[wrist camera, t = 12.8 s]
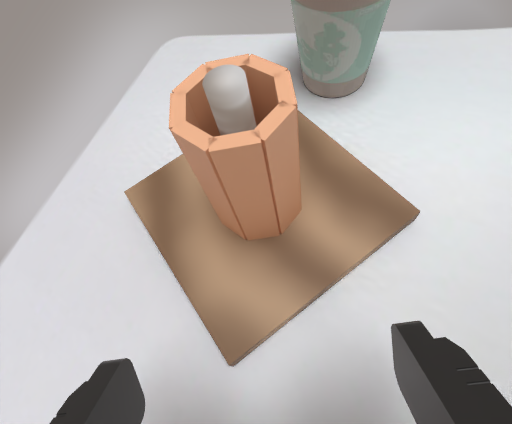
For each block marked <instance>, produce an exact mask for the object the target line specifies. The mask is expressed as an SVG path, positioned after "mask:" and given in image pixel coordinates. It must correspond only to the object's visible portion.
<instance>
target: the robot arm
mask: <svg viewBox="0 0 512 424" xmlns="http://www.w3.org/2000/svg"><path fill="white" fill-rule="evenodd" d="M391 333H392V346H393V360H394V369H395V374H396V378H397V382H398V385H399V387H400V390H401V392H402V394H403V396H404V398H405V400H406V402H407V404H408V407H409V409H410V411H411V413H412V415H413V417H414V419H415V421H416V423H417V424H512V407H511V405H510V404H509V403H508V402H507V400H506V399H505V398H504V397H503V396H502V394H501V393H500V392H499V391H498V390H497V388H496V387H495V386H494V385H493V384H491V383H490V380H489V379H488V378H487V376H486V375H485V374H484V373H483V372H482V370H481V369H480V370H479V368H478V366H477V364H476V363H475V362H474V361H473V360H472V358H471V357H470V356H469V355H468V354H467V352H466V351H465V350H464V349H462V348H461V347H459V346H458V345H456V344H455V343H453V342H452V341H450V340H449V339H447V338H446V337H443V338H435V339H434V338H433V337H432V336H431V334H430V333H429V332H428V330H427V329H426V327H425V326H424V325H423V324H422V322H420V321H412V322H405V323H397V324H392V326H391ZM144 411H145V398H144V394H143V391H142V388H141V386H140V383H139V380H138V378H137V375H136V372H135V370H134V367H133V364H132V362H131V360H130V359H128V358H125V359H117V360H110V361H104V362H102V363H101V364H100V365H99V366H98V367H97V369H96V370H95V372H94V373H93V375H92V376H91V378H90V379H89V381H86V382H84V383H83V384H82V385H81V386H80V387H79V388H78V389H77V390H76V391H74V392H73V393H72V394H71V395H70V396H69V397H68V398H67V400H66V401H65V403H64V404H63V406H62V407H61V408H60V410H59V411H58V413H57V414H56V415H57V416H56V418H53V420H52V421H51V423H50V424H141V422H142V419H143V416H144Z"/></svg>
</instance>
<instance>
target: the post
mask: <svg viewBox="0 0 512 424" xmlns="http://www.w3.org/2000/svg"><path fill="white" fill-rule="evenodd" d="M202 85H203V88H204V91H205V94H206V97H207V99H208V102H209V105H210V108H211V110H212V113H213V116H214V119H215V121H216V124H217V127H218V130H219V133H220V135H227V134H232V133H238V132H243V131H249V130H254V129H255V128H256V122H255V117H254V112H253V107H252V103H251V98H250V93H249V88H248V83H247V78H246V74H245V71H244V70H243V69H242V68H241V67H239V66H236V65H221V66H218V67H216V68H214V69H212V70H210V71H209V72H208V73H207V74H206V75H205V77H204V79H203V82H202ZM297 111H298V110H297ZM298 135H299V159H300V183H301V208H302V209H301V211H300V213H299V214H298V215H297V216H296V218H295V219H294V220H293V221H292V223H291V224H290V225H289V226H288V228H287V229H286V230H285V231H284V233H283V234H280V233H279V234H280V236H275V237H269V238H262V239H255V240H249V241H248V240H247V239H246V240H245V239H243V238H242V237H240V236H239V235H238V234H236V233H235V232H233V231H232V230H231V229H229V228H228V227H226V226H225V225H224V224H222V222H221V221H220V219H219V217H218V215H217V213H216V212H215V210H214V208H213V206H212V204H211V203H210V201H209V199H208V197H207V195H206V194H205V192H204V190H203V188H202V186H201V185H200V183H199V181H198V179H197V177H196V176H195V174H194V172H193V170H192V168H191V167H190V165H189V163H188V161H187V159H186V158H185V156H184V154H182V155H180V156H179V157H177V158H176V159H174V160H173V161H171V162H170V163H168V164H167V165H165V166H163V167H162V168H160V169H159V170H157V171H156V172H154V173H153V174H151V175H149V176H148V177H146V178H145V179H143V180H142V181H140V182H139V183H137V184H136V185H134V186H132V187H131V188H129V189H128V190H126V191H125V194H126V196H127V197H128V199H129V201H130V202H131V204H132V206H133V207H134V209H135V211H136V212H137V214H138V216H139V217H140V219H141V221H142V222H143V224H144V225H145V227H146V229H147V230H148V232H149V234H150V235H151V237H152V239H153V240H154V242H155V244H156V245H157V247H158V249H159V250H160V252H161V254H162V255H163V257H164V259H165V260H166V262H167V263H168V265H169V267H170V268H171V270H172V272H173V273H174V275H175V277H176V278H177V280H178V282H179V283H180V285H181V287H182V288H183V290H184V292H185V293H186V295H187V297H188V298H189V300H190V302H191V303H192V305H193V306H194V308H195V310H196V311H197V313H198V315H199V316H200V318H201V320H202V321H203V323H204V325H205V326H206V328H207V330H208V331H209V333H210V335H211V336H212V338H213V340H214V341H215V343H216V344H217V346H218V348H219V349H220V351H221V353H222V354H223V356H224V358H225V359H226V361H227V363H228V364H229V366H234V365H236V364H237V363H238V362H239V361H240V360H242V359H243V358H244V357H245V356H247V355H248V354H249V353H250V352H252V351H253V350H254V349H255V348H257V347H258V346H259V345H260V344H261V343H263V342H264V341H265V340H266V339H268V338H269V337H270V336H271V335H273V334H274V333H275V332H276V331H278V330H279V329H280V328H281V327H283V326H284V325H285V324H286V323H287V322H289V321H290V320H291V319H292V318H294V317H295V316H296V315H297V314H299V313H300V312H301V311H302V310H304V309H305V308H306V307H307V306H308V305H310V304H311V303H312V302H313V301H315V300H316V299H317V298H318V297H320V296H321V295H322V294H323V293H325V292H326V291H327V290H328V289H330V288H331V287H332V286H333V285H334V284H336V283H337V282H338V281H339V280H341V279H342V278H343V277H344V276H346V275H347V274H348V273H349V272H351V271H352V270H353V269H354V268H355V267H357V266H358V265H359V264H360V263H362V262H363V261H364V260H365V259H367V258H368V257H369V256H370V255H372V254H373V253H374V252H375V251H377V250H378V249H379V248H380V247H381V246H383V245H384V244H385V243H386V242H388V241H389V240H390V239H391V238H393V237H394V236H395V235H396V234H398V233H399V232H400V231H401V230H403V229H404V228H405V227H406V226H407V225H409V224H410V223H411V222H412V221H414V220H415V219H416V217H417V216H418V214H419V213H420V211H419V210H418V209H417V208H416V207H415V206H413V205H412V204H411V203H410V202H409V201H407V200H406V199H405V198H404V197H402V196H401V195H400V194H399V193H398V192H396V191H395V190H394V189H393V188H392V187H390V186H389V185H388V184H387V183H385V182H384V181H383V180H382V179H381V178H379V177H378V176H377V175H376V174H375V173H373V172H372V171H371V170H370V169H369V168H367V167H366V166H365V165H364V164H362V163H361V162H360V161H359V160H358V159H356V158H355V157H354V156H353V155H352V154H350V153H349V152H348V151H347V150H345V149H344V148H343V147H342V146H341V145H339V144H338V143H337V142H336V141H335V140H333V139H332V138H331V137H330V136H328V135H327V134H326V133H325V132H324V131H322V130H321V129H320V128H319V127H318V126H316V125H315V124H314V123H313V122H312V121H310V120H309V119H308V118H307V117H305V116H304V115H303V114H302V113H301V112H299V111H298Z"/></svg>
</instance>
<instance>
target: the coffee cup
mask: <svg viewBox="0 0 512 424" xmlns="http://www.w3.org/2000/svg"><path fill="white" fill-rule="evenodd" d="M291 4H292V10H293V16H294V23H295V30H296V36H297V43H298V49H299V56H300V62H301V69H302V75H303V81H304V84H305V86H306V87H307V88H308V89H309V90H310V91H311V92H312V93H314V94H316V95H319V96H322V97H328V98H336V97H342V96H346V95H349V94H351V93H353V92H354V91H356V90H357V89H358V88H360V86H361V85H362V84H363V82H364V80H365V77H366V74H367V71H368V68H369V65H370V62H371V59H372V56H373V52H374V49H375V46H376V43H377V40H378V37H379V34H380V31H381V28H382V25H383V22H384V19H385V16H386V13H387V9H388V6H389V4H390V0H291Z"/></svg>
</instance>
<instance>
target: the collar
mask: <svg viewBox="0 0 512 424" xmlns="http://www.w3.org/2000/svg"><path fill="white" fill-rule="evenodd" d="M205 63H206V65H204V64H202V65H201V66H200V67H198V68H197V69H196V70H195V71H194V72H193V73H192V74H191V75H189V76H188V77H187V78H186V79H185V80H184V81H183V82H181V83H180V84H179V85H178V86H177V87H176V88H175V89H174V90H172V93H170V115H169V129H170V131H171V132H172V134H173V136H174V138H175V140H176V141H177V143H178V145H179V147H180V149H181V150H182V152H183V154H184V156H185V158H186V159H187V161H188V163H189V165H190V167H191V168H192V170H193V172H194V174H195V176H196V177H197V179H198V181H199V183H200V185H201V186H202V188H203V190H204V192H205V194H206V195H207V197H208V199H209V201H210V203H211V204H212V206H213V208H214V210H215V212H216V213H217V215H218V217H219V219H220V221H221V222H222V224H224V225H225V226H226V227H228V228H229V229H231V230H232V231H233V232H235V233H236V234H238V235H239V236H240V237H242V238H243V239H245V240H246V239H247V240H248V241H249V240H255V239H262V238H269V237H275V236H280V234H283V233H284V231H285V230H286V229H287V228H288V226H289V225H290V224H291V223H292V221H293V220H294V219H295V218H296V216H297V215H298V214H299V213H300V211H301V209H302V208H301V183H300V159H299V135H298V111H297V101H296V96H295V92H294V88H293V83H292V79H291V75H290V70H289V71H288V68H285V67H283V66H280V65H278V64H275V63H273V62H270V61H268V60H266V59H263V58H261V57H258V56H256V55H253V54H251V55H250V56H249V54H245V55H240V56H235V57H230V58H225V59H220V60H215V61H210V62H205ZM221 65H236V66H239V67H241V68H242V69H243V70H244V71H245V74H246V78H247V83H248V88H249V93H250V98H251V103H252V107H253V112H254V117H255V122H256V128H255V129H254V130H249V131H243V132H238V133H232V134H227V135H220V133H219V130H218V127H217V124H216V121H215V119H214V116H213V113H212V110H211V108H210V105H209V102H208V99H207V97H206V94H205V91H204V88H203V85H202V82H203V79H204V77H205V75H206V74H207V73H208V72H209V71H210V70H212V69H214V68H216V67H218V66H221ZM279 233H280V234H279Z"/></svg>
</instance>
